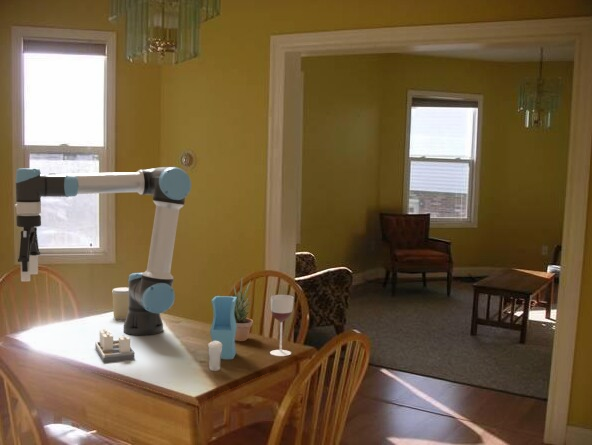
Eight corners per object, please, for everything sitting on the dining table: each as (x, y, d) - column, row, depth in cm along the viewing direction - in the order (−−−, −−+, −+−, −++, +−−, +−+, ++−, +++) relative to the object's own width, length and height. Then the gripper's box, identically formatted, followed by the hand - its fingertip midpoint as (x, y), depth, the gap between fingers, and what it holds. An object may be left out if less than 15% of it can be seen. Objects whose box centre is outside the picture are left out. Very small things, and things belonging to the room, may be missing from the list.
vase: (209, 358, 211) (211, 300, 209) (213, 351, 219) (215, 295, 217) (232, 359, 211) (234, 301, 209) (236, 352, 218) (237, 296, 217)
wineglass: (295, 350, 223) (296, 296, 221) (286, 357, 215) (288, 300, 213) (274, 348, 225) (276, 293, 224) (265, 354, 217) (267, 298, 216)
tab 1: (108, 343, 219) (108, 328, 218) (110, 346, 215) (110, 331, 215) (99, 344, 217) (99, 329, 217) (101, 346, 214) (101, 331, 214)
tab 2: (111, 347, 214) (111, 332, 214) (113, 350, 211) (113, 334, 210) (102, 347, 213) (102, 332, 212) (103, 351, 209) (104, 335, 209)
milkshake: (205, 367, 202) (206, 336, 201) (222, 367, 202) (222, 337, 201) (204, 371, 197) (205, 340, 196) (221, 371, 198) (222, 340, 197)
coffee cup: (139, 317, 266) (139, 289, 265) (120, 320, 258) (120, 292, 258) (125, 313, 272) (126, 286, 271) (107, 316, 264) (107, 289, 263)
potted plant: (257, 340, 235) (258, 275, 233) (235, 343, 230) (237, 277, 228) (243, 334, 243) (244, 271, 241) (221, 337, 238) (223, 273, 236)
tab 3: (127, 349, 211) (127, 334, 211) (130, 352, 208) (130, 337, 208) (118, 350, 210) (118, 335, 210) (120, 353, 207) (120, 338, 206)
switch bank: (124, 345, 223) (124, 339, 222) (134, 359, 208) (134, 352, 207) (95, 348, 218) (95, 342, 218) (103, 362, 203) (103, 355, 203)
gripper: (24, 211, 218) (25, 271, 220) (7, 217, 194) (9, 284, 196) (47, 211, 220) (48, 271, 222) (33, 217, 196) (34, 284, 197)
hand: (29, 277), depth 209 cm, fingers open, 13 cm apart
